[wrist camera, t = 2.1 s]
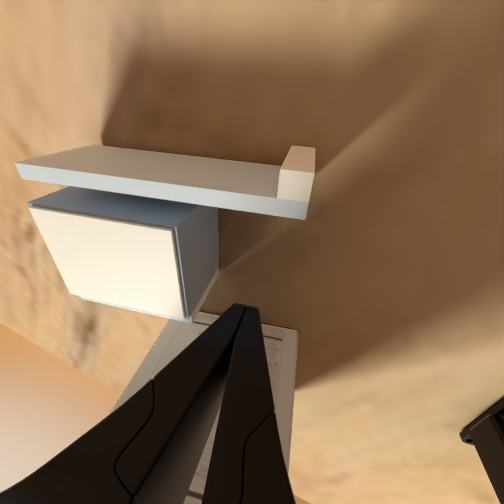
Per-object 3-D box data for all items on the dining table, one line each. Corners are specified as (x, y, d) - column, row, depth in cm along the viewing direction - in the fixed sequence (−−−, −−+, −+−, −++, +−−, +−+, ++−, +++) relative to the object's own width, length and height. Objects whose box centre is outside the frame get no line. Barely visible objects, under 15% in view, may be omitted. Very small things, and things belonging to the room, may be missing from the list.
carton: (217, 187, 13) (174, 228, 9) (219, 273, 16) (188, 330, 12) (106, 172, 14) (23, 203, 10) (128, 256, 17) (73, 304, 13)
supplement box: (188, 372, 23) (4, 768, 10) (174, 303, 18) (-252, 931, 5) (287, 396, 22) (237, 910, 8) (303, 329, 17) (237, 1399, 3)
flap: (315, 147, 10) (314, 173, 7) (309, 182, 11) (305, 220, 8) (88, 125, 12) (2, 136, 9) (97, 156, 13) (21, 178, 10)
